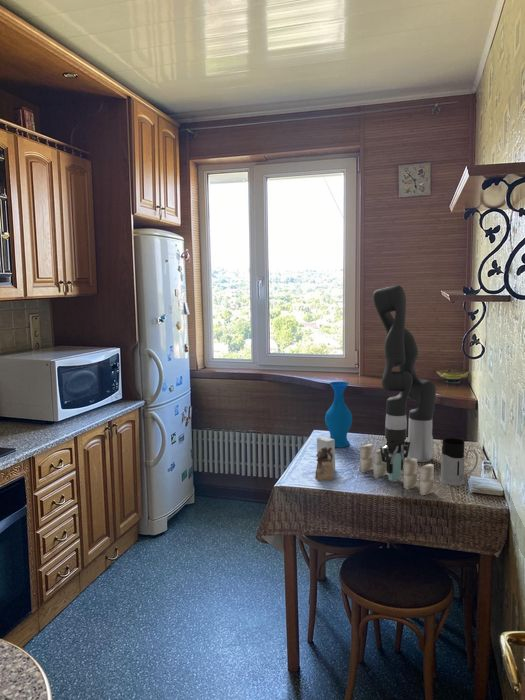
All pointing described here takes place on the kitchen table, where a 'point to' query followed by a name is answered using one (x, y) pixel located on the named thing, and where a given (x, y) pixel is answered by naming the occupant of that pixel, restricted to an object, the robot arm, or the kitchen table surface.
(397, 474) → the domino
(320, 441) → the skincare box
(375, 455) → the domino
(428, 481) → the domino
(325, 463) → the figurine
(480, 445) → the kitchen table surface
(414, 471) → the domino
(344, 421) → the vase
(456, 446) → the grey black pitcher
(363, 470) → the domino
